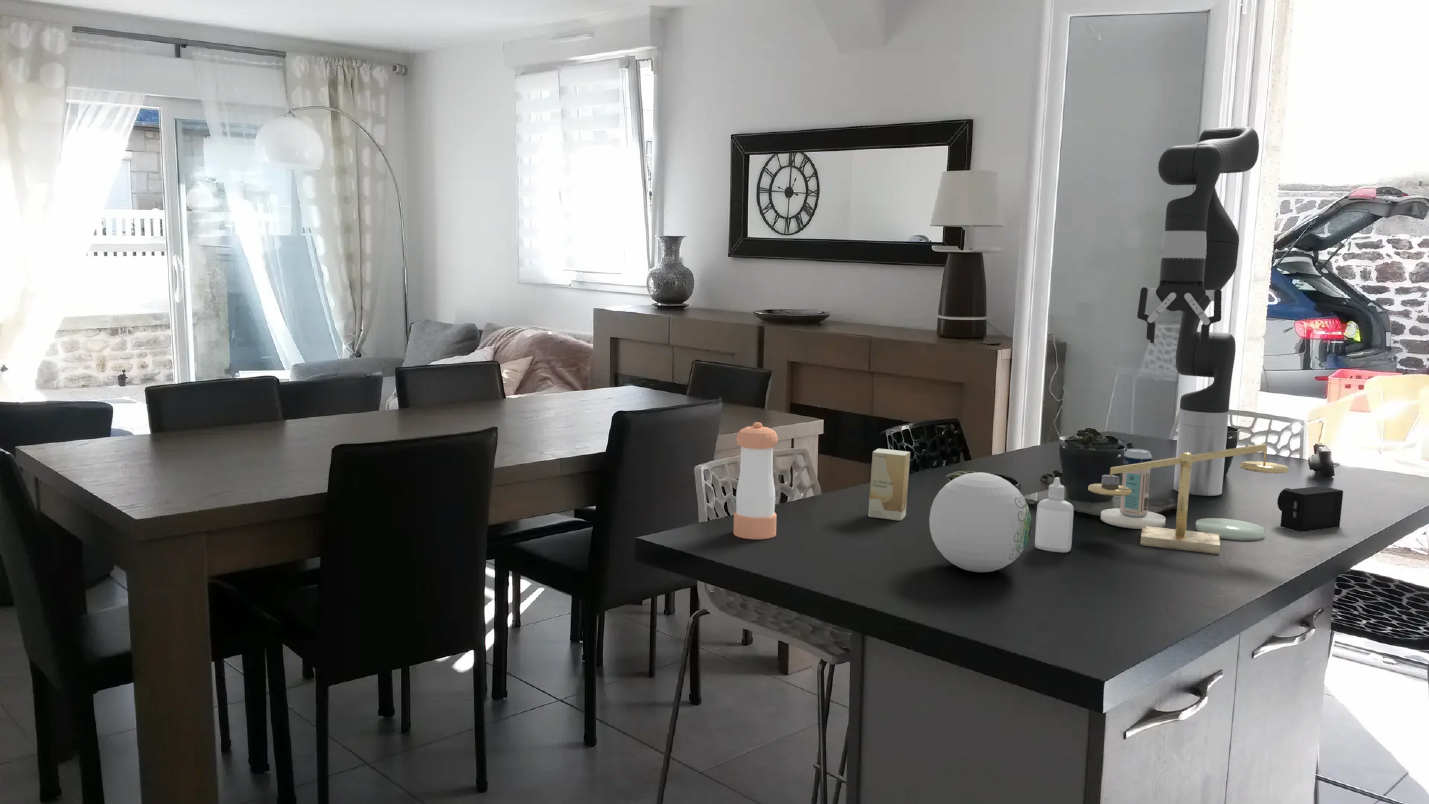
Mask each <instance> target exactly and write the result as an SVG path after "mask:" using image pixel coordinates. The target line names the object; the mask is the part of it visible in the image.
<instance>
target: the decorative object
mask: <svg viewBox="0 0 1429 804" xmlns="http://www.w3.org/2000/svg"><path fill="white" fill-rule="evenodd" d="M928 522H929V532H930V536H931V539H932V540H933V543H934V545H935V546H936V548H937V550H938V551H939V552H940V554H941V555H942V557H944V558H945V559H946V560H947V561H949V563H951V564H952V565H954V566H956V567H957V568H960V569H962V570H965V571H968V572H975V573H989V572H994V571H997V570H998V571H999V570H1001V569H1004V568H1005V567H1007V566H1008V565H1010V564H1012V563H1013V562H1014V561H1016V560H1017V558H1018V557H1020V556H1021V554H1022V552H1024V550H1025V548H1026V546H1027V545H1028V543H1029V539H1030V537H1031V531H1032V516H1031V512H1030V508H1029V505H1028V503H1027V501H1026V499H1025V497H1024V495H1023V494H1022V493H1021V492H1020V490H1019V489H1018V488H1017V487H1016V486H1015V485H1014V484H1012V483H1011V482H1010V481H1009V480H1007V479H1004V478H1003V477H1001V476H1000V475H999V476H998V475H996V474H993V473H989V472H981V471H980V472H970V473H965V474H962V475H960V476H957V477H955V478H953V479H952V480H950V481H949V482H947V483H946V484H945V485H944V486H943V487H942V488H941V489H940V490H939V491H938V493H937V494H936V496H935V497H934V499H933V502H932V504H931V506H930V512H929V519H928Z"/></svg>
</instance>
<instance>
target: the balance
mask: <svg viewBox="0 0 1429 804" xmlns="http://www.w3.org/2000/svg"><path fill="white" fill-rule="evenodd" d="M1267 451H1268V447H1267V445H1266V443H1259V444H1254V445H1248V446H1247V445H1245V446H1240V447H1236V448H1235V447H1234V448H1228V449H1227V448H1226V450H1221V451H1214V452H1208V453H1201V454H1195V455H1192V454H1191V453H1189V452H1184V453H1182V454H1180V456H1179V457H1176V456H1175V457H1170V458H1163V459H1157V460H1156V459H1155V460H1151V461H1149V462H1143V463H1136V464H1130V465H1124V464H1123V465H1117V466H1111V467H1110V471H1109V474H1103V475H1101V483H1092V484H1089V485H1088V488H1087V489H1088V491H1089V492H1091V493H1094V494H1098V495H1104V496H1111V497H1112V496H1113V497H1121V496H1126V495H1130V494H1132V489H1131V488H1128V487H1125V486H1122V484H1121V485H1120V476H1118V475H1116V474H1123V473H1124V472H1130V471H1137V470H1143V469H1150V468H1151V469H1155V468H1156V469H1157V468H1163V467H1170V466H1175V465H1176V464H1181V467H1180V479H1179V492H1178V491H1177V492H1178V494H1177V506H1176V519H1175V529H1174V528H1165V527H1163V528H1158V527H1149V526H1143V528H1142V529H1141V535H1140V544H1139V545H1140V546H1147V547H1156V548H1164V549H1170V550H1171V549H1173V550H1181V551H1188V552H1196V553H1206V554H1214V555H1215V554H1216V555H1220V553H1221V552H1220V549H1221V541H1220V540H1221V538H1219V534H1213V533H1204V532H1198V531H1196V530H1195V531H1194V530H1187V520H1188V509H1189V508H1188V507H1189V496H1190V494H1189V485H1190V473H1191V465H1192V464H1193V462H1196V461H1203V460H1209V459H1216V458H1222V457H1225V458H1227V457H1228V458H1229V457H1234V456H1241V455H1247V454H1254V453H1261V452H1263V453H1264V454H1263V460H1262V461H1254V460H1253V461H1251V460H1250V461H1249V460H1248V461H1247V460H1245V461H1241V462H1240V464H1239V468H1240V469H1243V470H1246V471H1250V472H1255V473H1264V474H1286V473H1288V472H1289V470H1290V469H1289V466H1287V465H1284V464H1280V463H1275V462H1269V461H1268V462H1267Z"/></svg>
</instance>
